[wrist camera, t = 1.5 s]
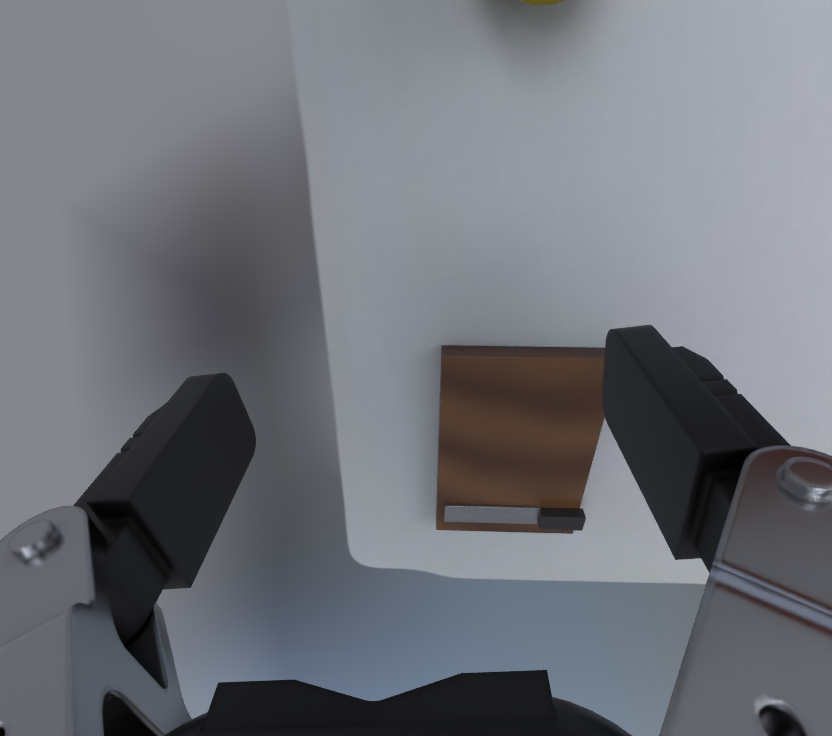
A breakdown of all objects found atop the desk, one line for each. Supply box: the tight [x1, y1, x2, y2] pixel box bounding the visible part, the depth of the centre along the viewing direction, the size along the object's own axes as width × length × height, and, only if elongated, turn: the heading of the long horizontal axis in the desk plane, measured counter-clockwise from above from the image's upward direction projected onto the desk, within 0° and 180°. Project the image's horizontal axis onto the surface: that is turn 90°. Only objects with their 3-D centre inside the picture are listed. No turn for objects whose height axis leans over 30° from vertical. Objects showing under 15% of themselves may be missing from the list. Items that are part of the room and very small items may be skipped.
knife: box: [444, 503, 586, 530], centre depth 39 cm, size 12×2×1 cm, turn 90°
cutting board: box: [436, 346, 605, 534], centre depth 37 cm, size 18×12×2 cm, turn 0°
